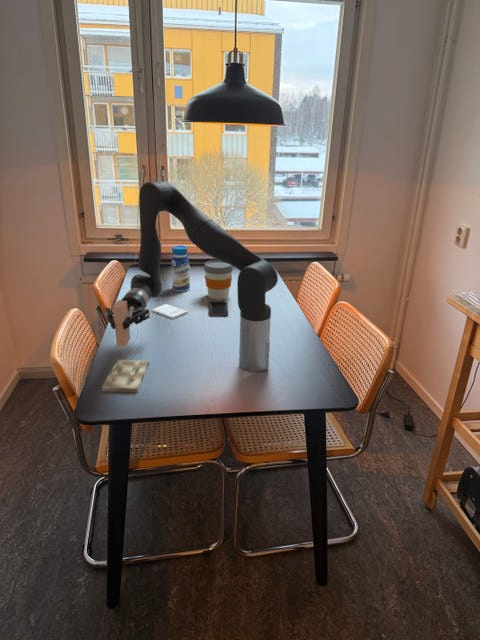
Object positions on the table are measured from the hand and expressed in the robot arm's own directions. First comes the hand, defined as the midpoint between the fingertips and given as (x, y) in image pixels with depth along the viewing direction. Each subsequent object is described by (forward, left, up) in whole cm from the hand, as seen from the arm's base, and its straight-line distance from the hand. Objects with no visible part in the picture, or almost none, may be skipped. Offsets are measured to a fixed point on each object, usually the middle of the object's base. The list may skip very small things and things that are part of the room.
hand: (118, 326), depth 118 cm
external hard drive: (-4, -53, -19) cm, 57 cm away
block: (0, -3, -7) cm, 7 cm away
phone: (-24, -58, -19) cm, 65 cm away
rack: (0, -3, -18) cm, 18 cm away
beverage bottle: (-5, -82, -18) cm, 84 cm away
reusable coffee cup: (-23, -74, -18) cm, 79 cm away
